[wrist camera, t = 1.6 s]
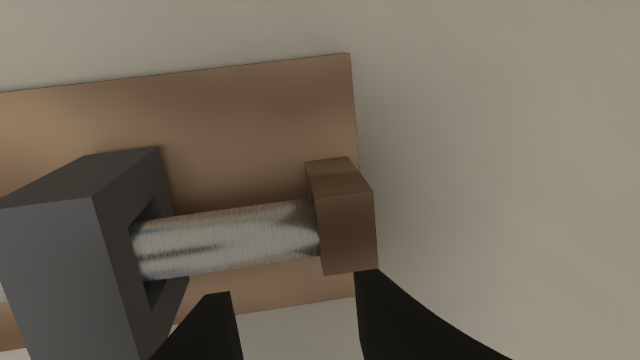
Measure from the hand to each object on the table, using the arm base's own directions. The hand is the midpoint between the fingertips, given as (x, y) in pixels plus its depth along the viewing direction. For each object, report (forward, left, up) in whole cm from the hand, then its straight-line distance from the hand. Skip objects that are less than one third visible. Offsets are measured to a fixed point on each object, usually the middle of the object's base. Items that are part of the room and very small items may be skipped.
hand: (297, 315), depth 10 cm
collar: (0, +6, -8) cm, 11 cm away
